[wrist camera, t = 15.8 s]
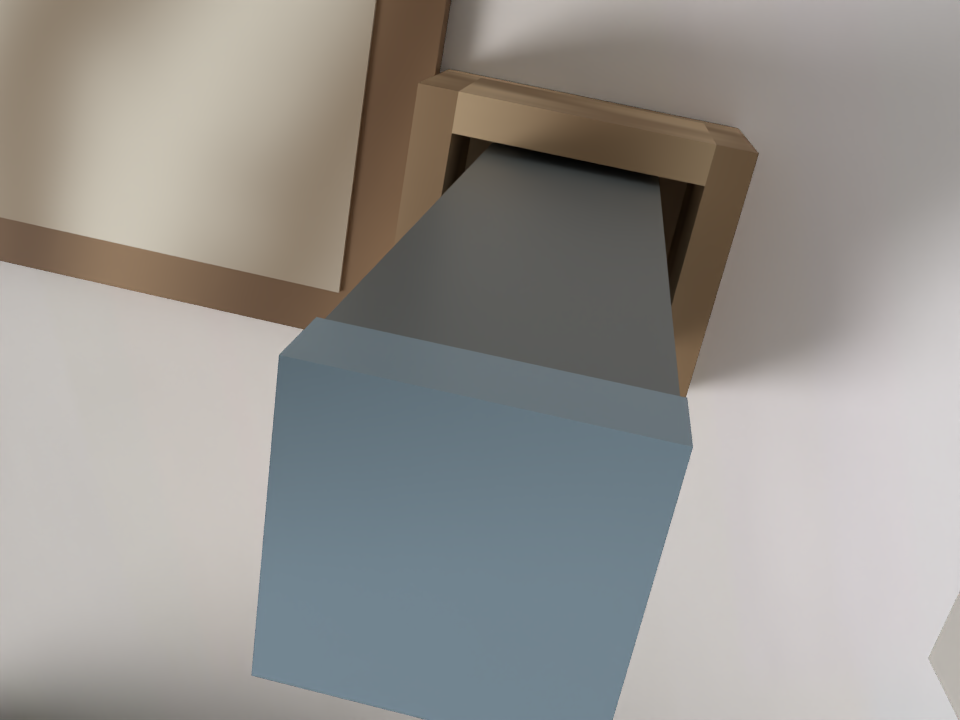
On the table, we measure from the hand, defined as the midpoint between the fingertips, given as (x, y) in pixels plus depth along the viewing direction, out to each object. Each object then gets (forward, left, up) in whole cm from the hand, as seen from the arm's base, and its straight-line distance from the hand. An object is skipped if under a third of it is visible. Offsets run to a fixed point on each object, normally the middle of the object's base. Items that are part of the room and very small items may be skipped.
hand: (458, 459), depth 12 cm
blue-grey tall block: (+1, +1, -11) cm, 11 cm away
